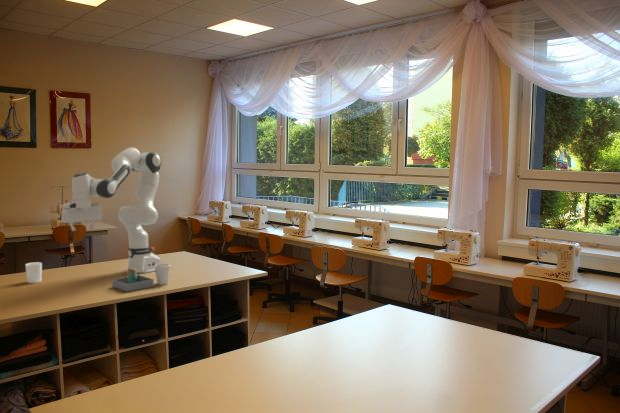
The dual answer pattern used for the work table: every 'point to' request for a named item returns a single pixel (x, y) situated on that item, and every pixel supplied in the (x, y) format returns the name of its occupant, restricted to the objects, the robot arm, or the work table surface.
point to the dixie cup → (162, 273)
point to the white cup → (34, 272)
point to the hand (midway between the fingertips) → (82, 229)
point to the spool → (132, 275)
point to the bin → (132, 284)
